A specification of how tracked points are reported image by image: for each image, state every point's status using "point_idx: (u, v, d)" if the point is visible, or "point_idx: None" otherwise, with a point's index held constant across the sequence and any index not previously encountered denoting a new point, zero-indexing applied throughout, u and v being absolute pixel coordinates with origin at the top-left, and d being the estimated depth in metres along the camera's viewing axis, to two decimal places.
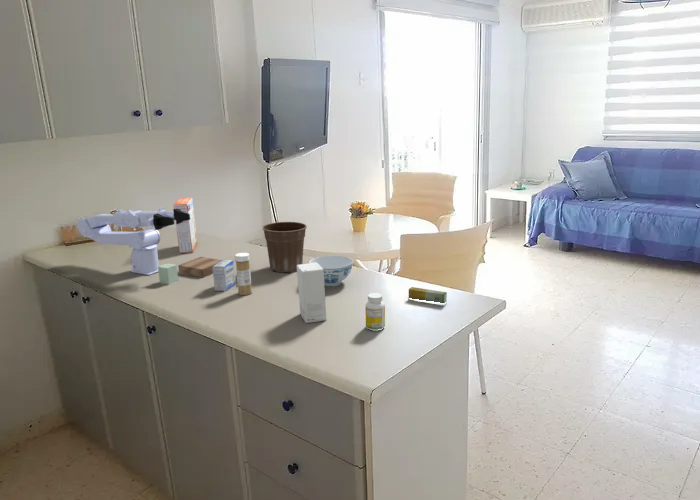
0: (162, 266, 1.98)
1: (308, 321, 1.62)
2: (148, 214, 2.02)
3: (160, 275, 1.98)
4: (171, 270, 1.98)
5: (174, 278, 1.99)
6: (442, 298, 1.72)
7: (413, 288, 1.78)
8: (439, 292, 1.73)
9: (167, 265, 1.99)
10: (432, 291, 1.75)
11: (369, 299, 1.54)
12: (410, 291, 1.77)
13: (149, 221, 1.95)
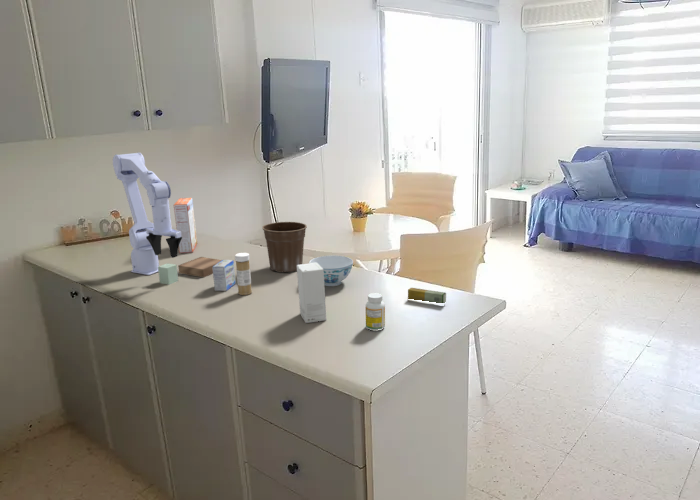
0: (162, 266, 1.98)
1: (308, 321, 1.62)
2: (153, 218, 1.93)
3: (160, 275, 1.98)
4: (171, 270, 1.97)
5: (174, 278, 1.99)
6: (442, 298, 1.72)
7: (412, 289, 1.77)
8: (439, 292, 1.73)
9: (167, 265, 1.99)
10: (432, 291, 1.74)
11: (369, 299, 1.54)
12: (409, 292, 1.76)
13: None
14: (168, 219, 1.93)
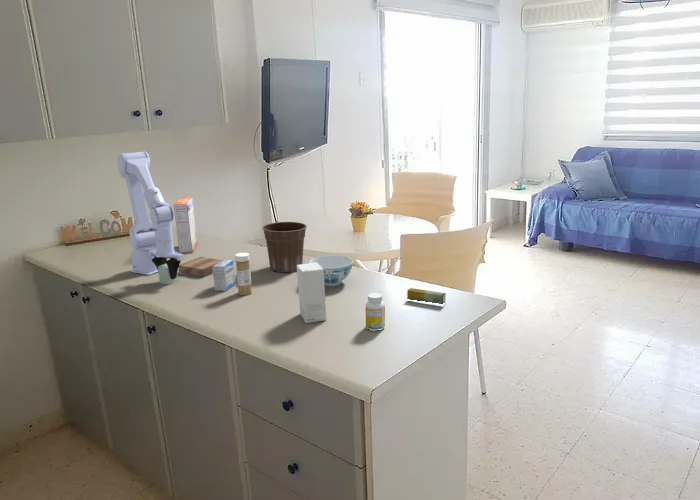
0: (162, 266, 1.98)
1: (308, 321, 1.62)
2: (155, 240, 1.95)
3: (160, 275, 1.98)
4: None
5: None
6: (441, 299, 1.71)
7: (412, 289, 1.77)
8: (438, 293, 1.73)
9: None
10: (431, 292, 1.74)
11: (369, 299, 1.54)
12: (409, 292, 1.76)
13: None
14: (170, 242, 1.95)
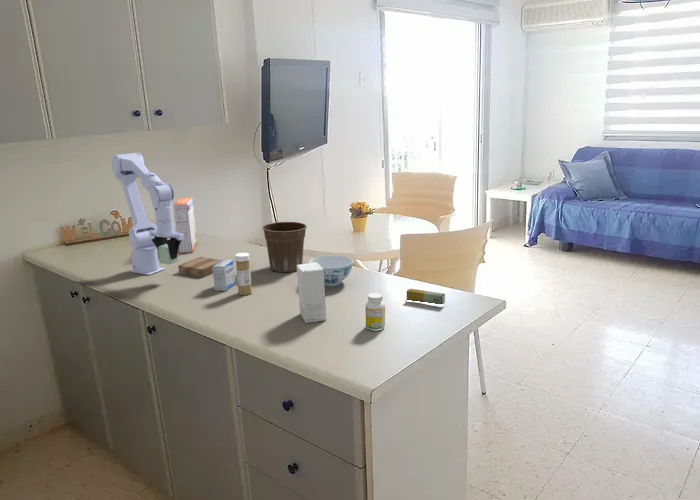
0: (162, 246, 1.97)
1: (308, 321, 1.62)
2: None
3: (160, 255, 1.97)
4: None
5: None
6: (441, 299, 1.71)
7: (411, 290, 1.76)
8: (437, 293, 1.72)
9: (167, 245, 1.98)
10: (430, 292, 1.73)
11: (369, 299, 1.54)
12: (408, 293, 1.76)
13: None
14: (171, 221, 1.94)
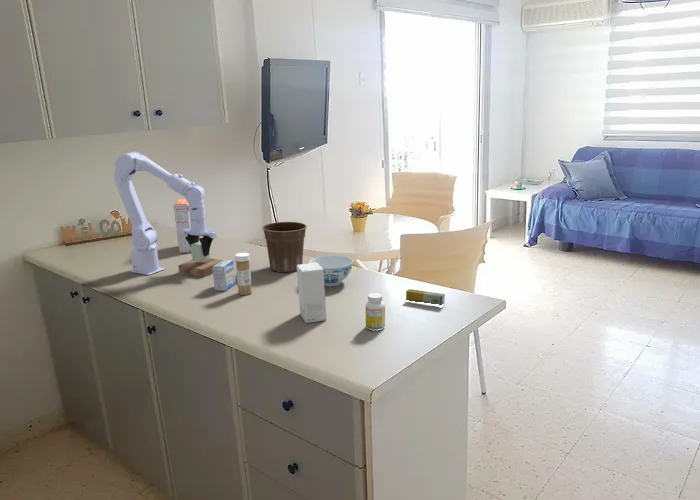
0: (195, 244, 2.08)
1: (308, 321, 1.62)
2: None
3: (193, 252, 2.08)
4: None
5: None
6: (440, 300, 1.70)
7: (410, 290, 1.76)
8: (437, 294, 1.72)
9: (199, 243, 2.09)
10: (430, 293, 1.73)
11: (369, 299, 1.54)
12: (408, 293, 1.75)
13: None
14: (204, 220, 2.05)
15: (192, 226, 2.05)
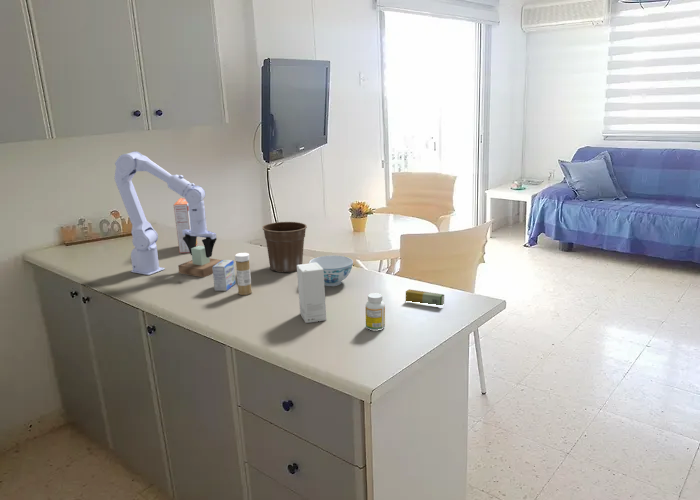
0: (195, 248, 2.08)
1: (308, 321, 1.62)
2: None
3: (193, 256, 2.09)
4: (204, 251, 2.08)
5: (206, 259, 2.10)
6: (440, 300, 1.70)
7: (410, 290, 1.75)
8: (437, 294, 1.71)
9: (200, 247, 2.09)
10: (430, 293, 1.73)
11: (369, 299, 1.54)
12: (407, 293, 1.75)
13: None
14: (204, 221, 2.05)
15: (192, 227, 2.05)
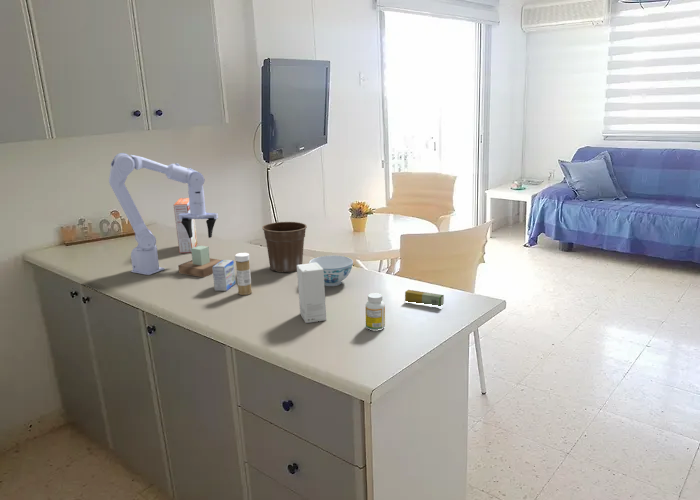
0: (195, 248, 2.08)
1: (308, 321, 1.62)
2: (190, 203, 2.12)
3: (193, 256, 2.09)
4: (204, 251, 2.08)
5: (206, 259, 2.10)
6: (439, 301, 1.70)
7: (410, 291, 1.75)
8: (436, 295, 1.71)
9: (200, 247, 2.09)
10: (429, 294, 1.72)
11: (369, 299, 1.54)
12: (407, 294, 1.75)
13: None
14: (204, 203, 2.15)
15: (194, 209, 2.12)
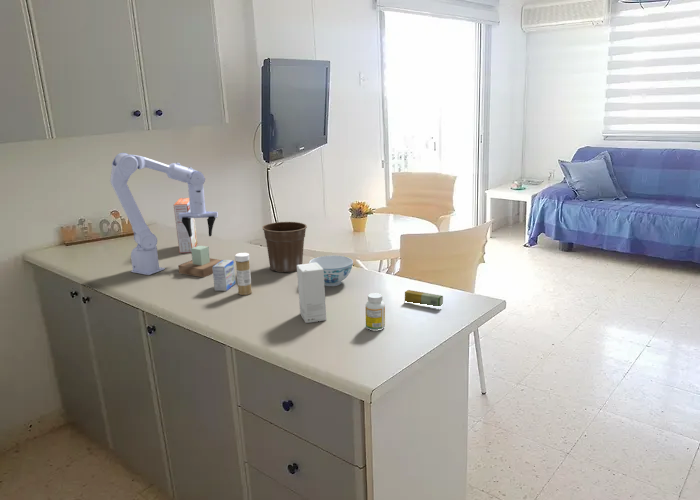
0: (195, 248, 2.08)
1: (308, 321, 1.62)
2: (190, 202, 2.14)
3: (193, 256, 2.09)
4: (204, 251, 2.08)
5: (206, 259, 2.10)
6: (438, 302, 1.69)
7: (409, 291, 1.75)
8: (435, 295, 1.71)
9: (200, 247, 2.09)
10: (428, 294, 1.72)
11: (369, 299, 1.54)
12: (406, 294, 1.74)
13: (179, 217, 2.17)
14: (204, 202, 2.17)
15: (195, 208, 2.14)
